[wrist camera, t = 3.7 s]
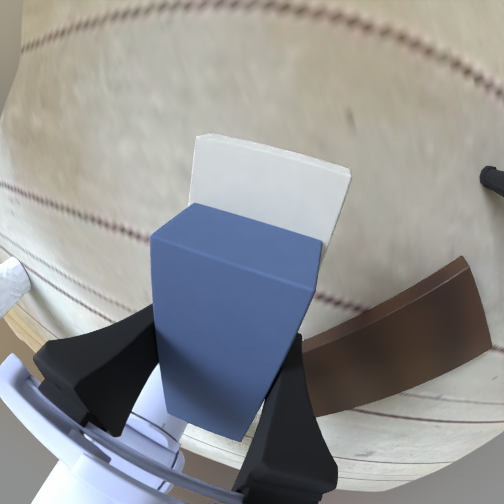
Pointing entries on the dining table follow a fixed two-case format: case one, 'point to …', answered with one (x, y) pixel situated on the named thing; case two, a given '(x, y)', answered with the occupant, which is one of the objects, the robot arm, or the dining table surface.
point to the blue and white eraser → (238, 276)
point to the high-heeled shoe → (493, 179)
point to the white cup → (12, 284)
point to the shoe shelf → (398, 343)
